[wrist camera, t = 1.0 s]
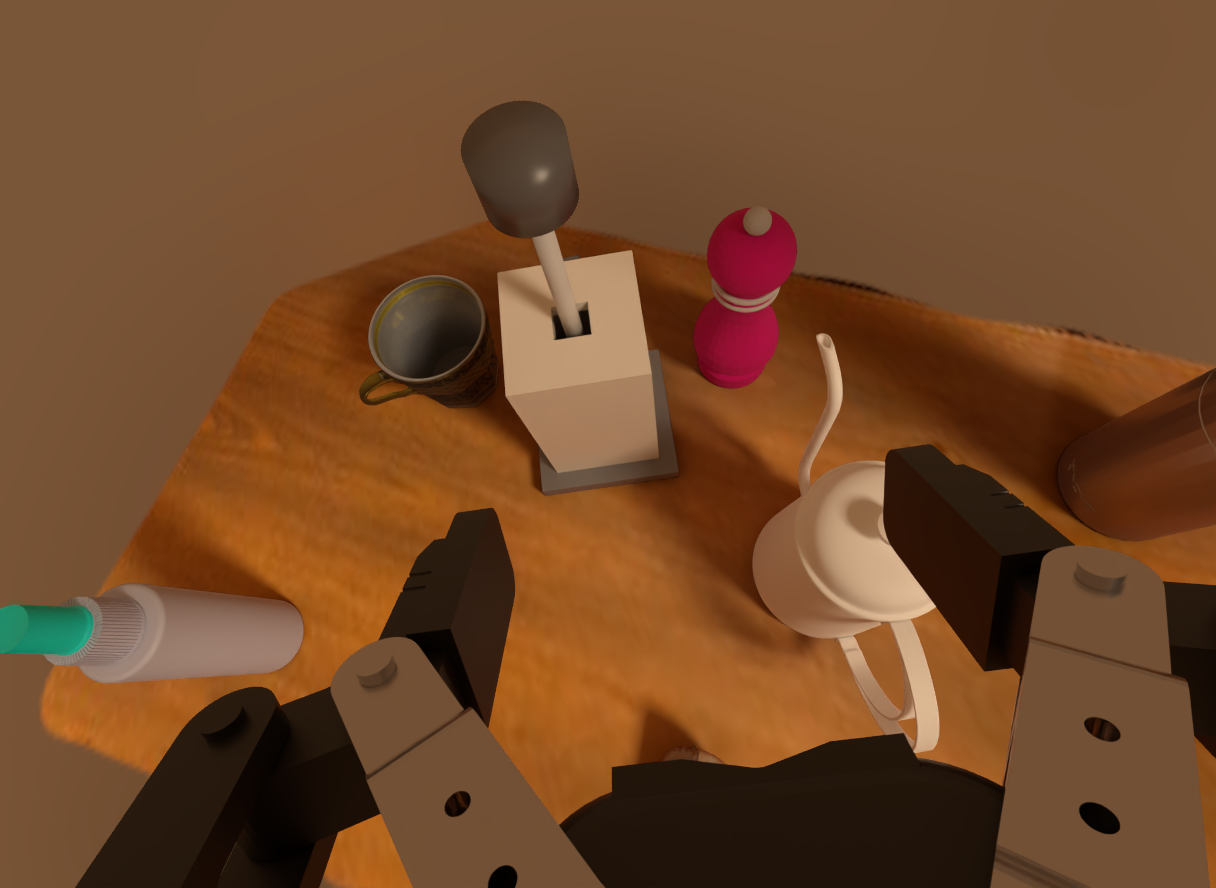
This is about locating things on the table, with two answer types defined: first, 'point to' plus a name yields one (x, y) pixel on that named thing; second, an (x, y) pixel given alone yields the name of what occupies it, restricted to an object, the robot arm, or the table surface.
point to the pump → (527, 186)
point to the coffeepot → (847, 573)
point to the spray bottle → (157, 633)
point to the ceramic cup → (433, 343)
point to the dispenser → (586, 377)
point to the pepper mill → (743, 295)
